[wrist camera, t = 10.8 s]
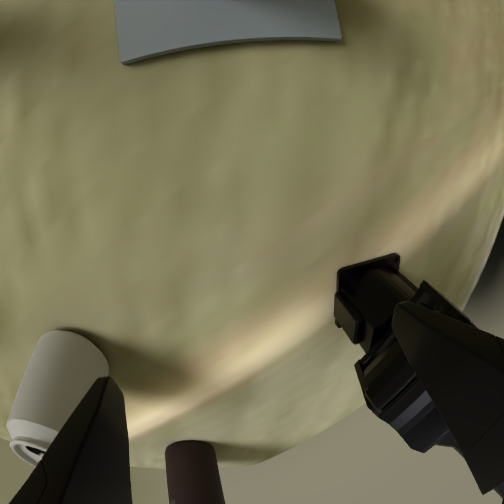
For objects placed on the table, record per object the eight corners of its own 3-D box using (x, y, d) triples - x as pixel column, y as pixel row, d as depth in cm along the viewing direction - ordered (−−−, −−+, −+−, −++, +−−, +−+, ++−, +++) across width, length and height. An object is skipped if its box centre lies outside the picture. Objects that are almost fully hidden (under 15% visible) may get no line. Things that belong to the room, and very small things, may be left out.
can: (95, 321, 21) (64, 449, 10) (120, 379, 24) (112, 489, 14) (28, 324, 20) (-18, 430, 9) (58, 378, 23) (37, 476, 13)
